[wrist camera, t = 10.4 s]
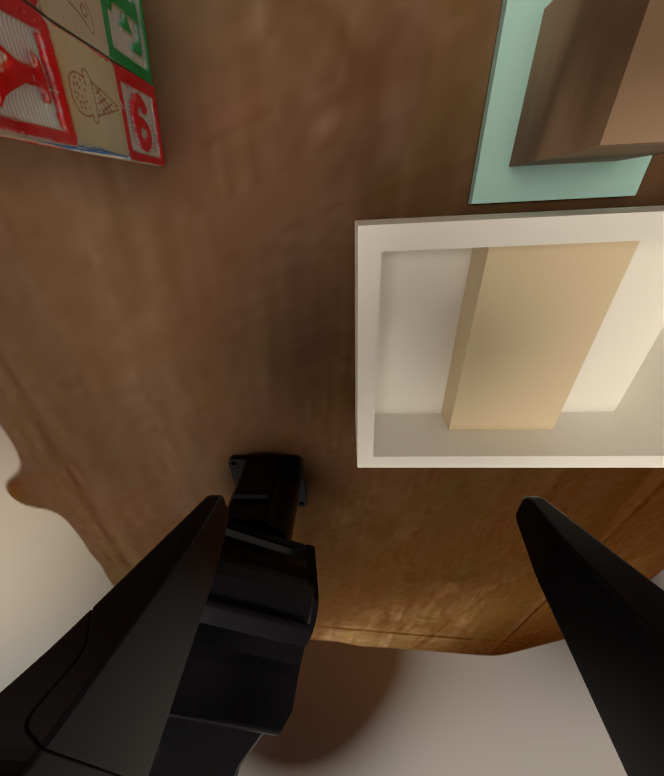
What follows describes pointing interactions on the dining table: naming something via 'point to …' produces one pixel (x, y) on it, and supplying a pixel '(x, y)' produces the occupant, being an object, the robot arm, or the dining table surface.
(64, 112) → the stack of blocks
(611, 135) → the walnut block
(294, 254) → the dining table surface
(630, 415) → the crate
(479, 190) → the teal pad
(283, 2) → the dining table surface
